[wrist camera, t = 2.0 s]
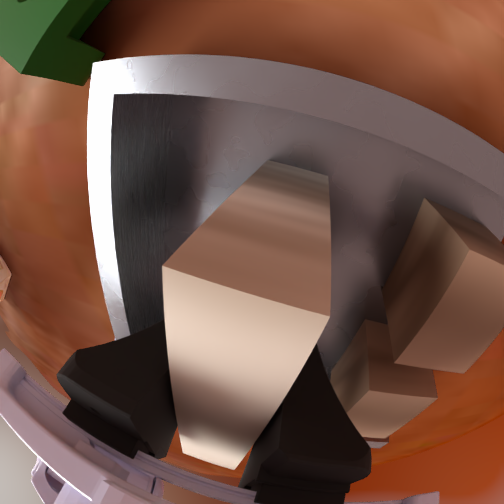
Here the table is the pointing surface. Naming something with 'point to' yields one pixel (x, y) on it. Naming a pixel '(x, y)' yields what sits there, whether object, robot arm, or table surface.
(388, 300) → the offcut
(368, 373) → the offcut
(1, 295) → the coffeecake box
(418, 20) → the table surface
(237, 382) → the birch block
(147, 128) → the tray
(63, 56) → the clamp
